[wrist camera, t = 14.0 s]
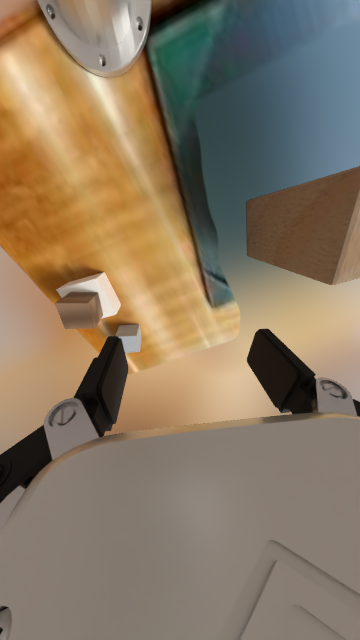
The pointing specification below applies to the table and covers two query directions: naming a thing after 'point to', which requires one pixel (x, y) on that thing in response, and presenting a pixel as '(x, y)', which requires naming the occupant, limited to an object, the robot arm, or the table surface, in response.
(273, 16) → the table surface
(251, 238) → the wooden block
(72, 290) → the off-white block
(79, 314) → the walnut cube
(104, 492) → the robot arm
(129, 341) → the slate-grey cube
